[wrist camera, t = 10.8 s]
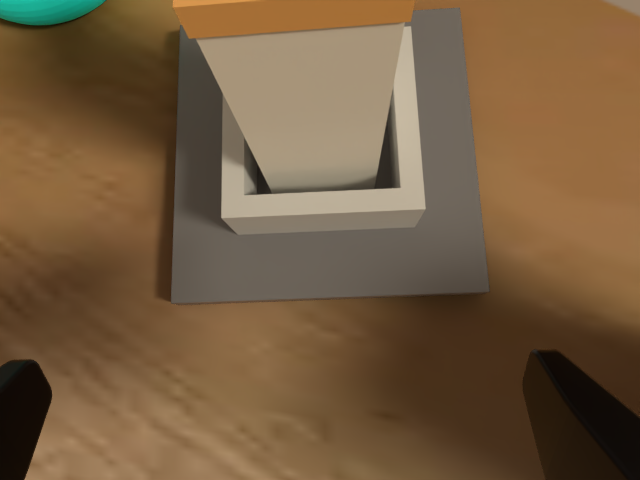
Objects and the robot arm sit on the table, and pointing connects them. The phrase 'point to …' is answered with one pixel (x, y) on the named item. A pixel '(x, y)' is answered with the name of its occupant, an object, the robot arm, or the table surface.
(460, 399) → the table surface
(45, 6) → the donuts
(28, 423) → the robot arm
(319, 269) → the socket
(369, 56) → the plug
